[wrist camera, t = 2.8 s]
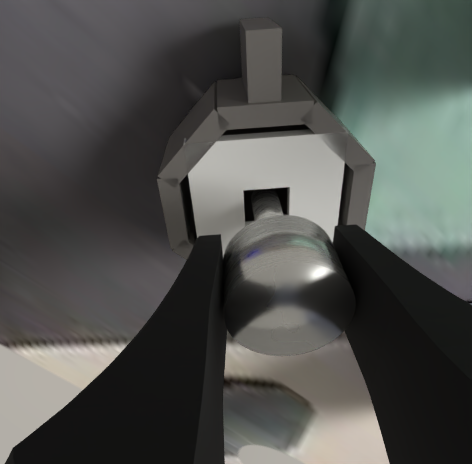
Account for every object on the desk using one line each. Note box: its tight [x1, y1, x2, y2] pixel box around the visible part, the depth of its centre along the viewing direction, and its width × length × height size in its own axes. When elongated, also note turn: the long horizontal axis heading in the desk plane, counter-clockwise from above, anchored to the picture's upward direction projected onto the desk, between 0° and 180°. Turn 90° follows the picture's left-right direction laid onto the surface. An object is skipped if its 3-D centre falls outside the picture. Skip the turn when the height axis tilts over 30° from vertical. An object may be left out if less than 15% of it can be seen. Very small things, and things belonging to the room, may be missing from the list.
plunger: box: [223, 188, 356, 356], centre depth 11 cm, size 3×3×6 cm
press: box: [157, 17, 376, 260], centre depth 14 cm, size 9×7×4 cm
